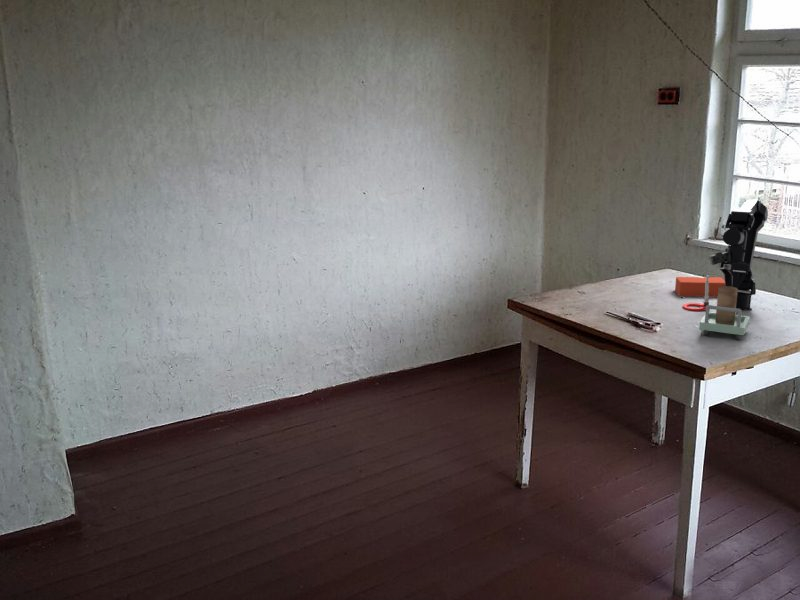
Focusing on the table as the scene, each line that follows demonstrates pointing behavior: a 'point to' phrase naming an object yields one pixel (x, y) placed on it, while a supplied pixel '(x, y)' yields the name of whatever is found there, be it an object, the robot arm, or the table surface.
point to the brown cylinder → (726, 304)
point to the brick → (698, 286)
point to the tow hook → (702, 306)
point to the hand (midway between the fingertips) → (730, 289)
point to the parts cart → (737, 328)
